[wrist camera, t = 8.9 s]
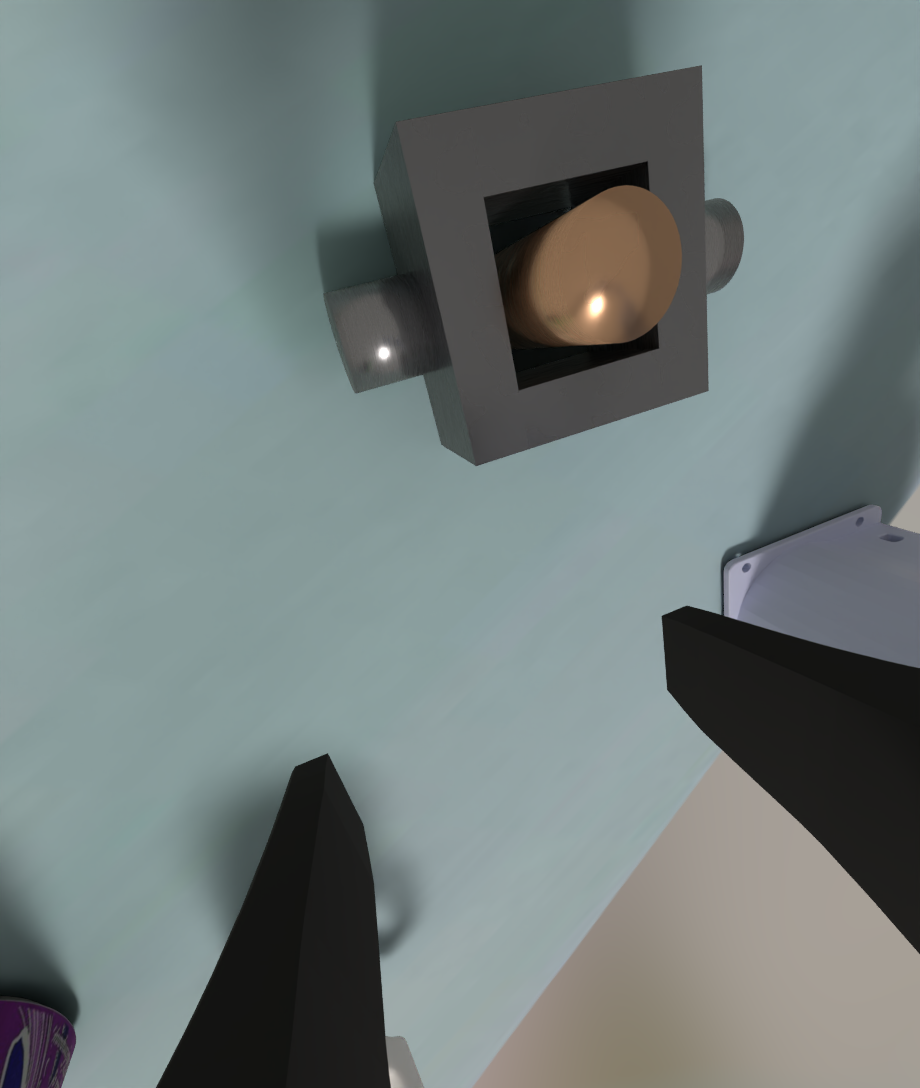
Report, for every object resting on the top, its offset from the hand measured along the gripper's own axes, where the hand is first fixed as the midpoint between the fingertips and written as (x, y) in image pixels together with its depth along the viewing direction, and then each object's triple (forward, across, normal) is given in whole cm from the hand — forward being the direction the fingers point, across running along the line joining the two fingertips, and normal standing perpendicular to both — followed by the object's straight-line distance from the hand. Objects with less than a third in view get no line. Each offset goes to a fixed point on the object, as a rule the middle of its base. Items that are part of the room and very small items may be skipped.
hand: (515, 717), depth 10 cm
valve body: (+10, -6, -8) cm, 14 cm away
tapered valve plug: (+10, -6, -8) cm, 14 cm away
